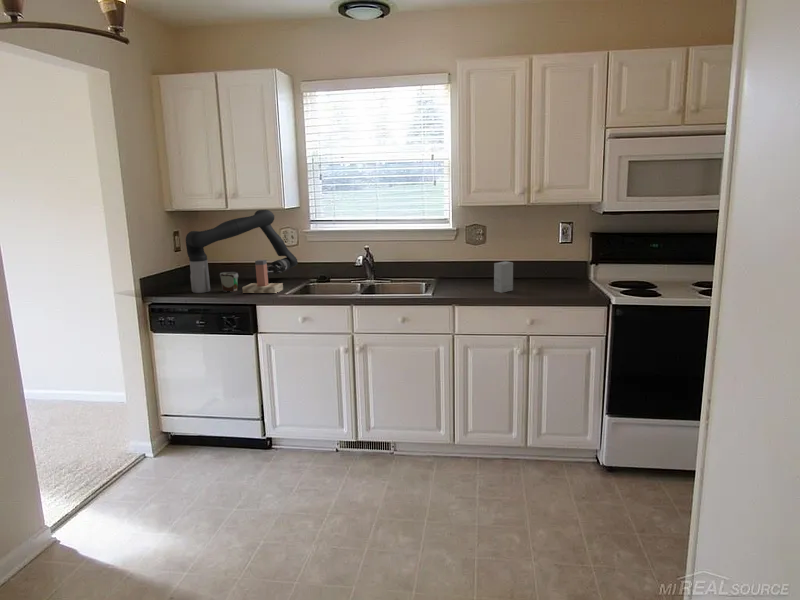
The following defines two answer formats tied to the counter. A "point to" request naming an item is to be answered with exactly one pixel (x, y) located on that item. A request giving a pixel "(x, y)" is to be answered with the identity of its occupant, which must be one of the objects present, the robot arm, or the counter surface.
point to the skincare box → (503, 276)
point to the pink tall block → (261, 272)
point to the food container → (229, 281)
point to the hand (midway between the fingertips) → (268, 270)
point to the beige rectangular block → (263, 288)
